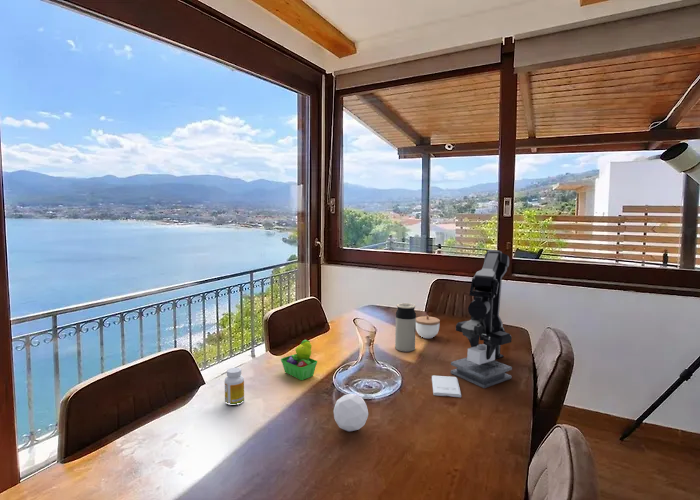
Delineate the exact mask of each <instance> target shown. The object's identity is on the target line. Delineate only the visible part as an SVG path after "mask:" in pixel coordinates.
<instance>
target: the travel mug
mask: <svg viewBox="0 0 700 500" xmlns="http://www.w3.org/2000/svg"><path fill="white" fill-rule="evenodd" d="M396 308H397V310H396V312H395V334H394V335H395V338H394V339H395V340H394V341H395V342H394V343H395V344H394V348H395V350H398V352H399V351H400V352H404V353H405V352H406V353H407V352H413V351H414V350H416V318H417V316H416V315H417V313H416V311H415V309H416V305H415V304H414V303H409V302H401V303H397V304H396Z"/></svg>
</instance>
